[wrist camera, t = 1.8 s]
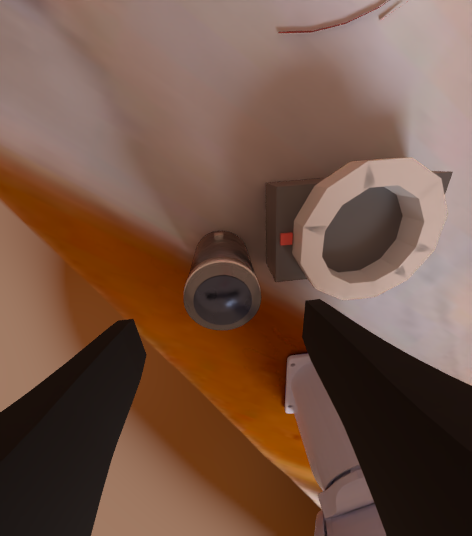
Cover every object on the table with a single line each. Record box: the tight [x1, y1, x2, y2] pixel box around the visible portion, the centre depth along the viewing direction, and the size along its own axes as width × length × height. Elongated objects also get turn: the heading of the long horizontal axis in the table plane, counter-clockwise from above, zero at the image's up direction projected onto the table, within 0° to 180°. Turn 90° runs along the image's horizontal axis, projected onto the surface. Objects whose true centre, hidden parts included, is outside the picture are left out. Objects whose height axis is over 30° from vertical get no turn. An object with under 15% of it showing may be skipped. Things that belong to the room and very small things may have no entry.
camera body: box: [266, 157, 452, 300], centre depth 14 cm, size 8×11×4 cm
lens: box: [184, 231, 261, 330], centre depth 13 cm, size 4×4×6 cm
